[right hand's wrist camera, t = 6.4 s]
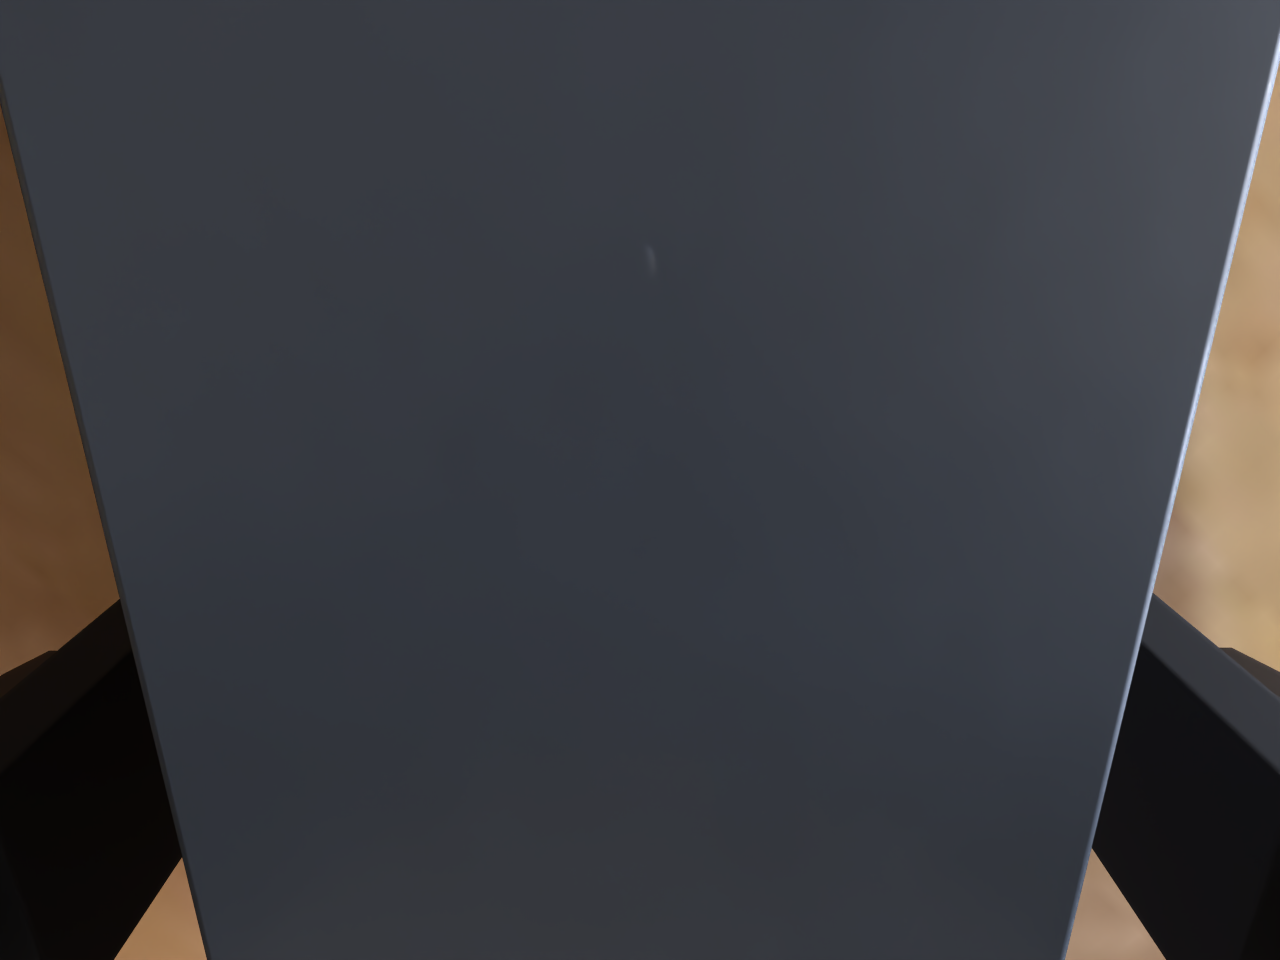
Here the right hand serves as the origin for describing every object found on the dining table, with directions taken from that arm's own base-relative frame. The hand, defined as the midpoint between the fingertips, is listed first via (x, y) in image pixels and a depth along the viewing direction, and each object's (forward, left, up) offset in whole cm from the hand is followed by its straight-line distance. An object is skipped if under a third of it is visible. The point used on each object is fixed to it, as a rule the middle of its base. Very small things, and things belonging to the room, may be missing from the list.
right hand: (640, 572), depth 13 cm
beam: (0, -11, -2) cm, 11 cm away
